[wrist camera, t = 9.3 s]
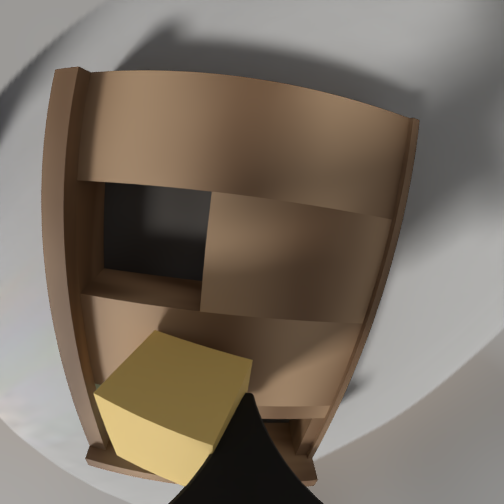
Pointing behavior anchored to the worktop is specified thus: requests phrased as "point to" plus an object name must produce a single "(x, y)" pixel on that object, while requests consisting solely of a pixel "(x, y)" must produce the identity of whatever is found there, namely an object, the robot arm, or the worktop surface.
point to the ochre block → (171, 404)
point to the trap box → (220, 235)
